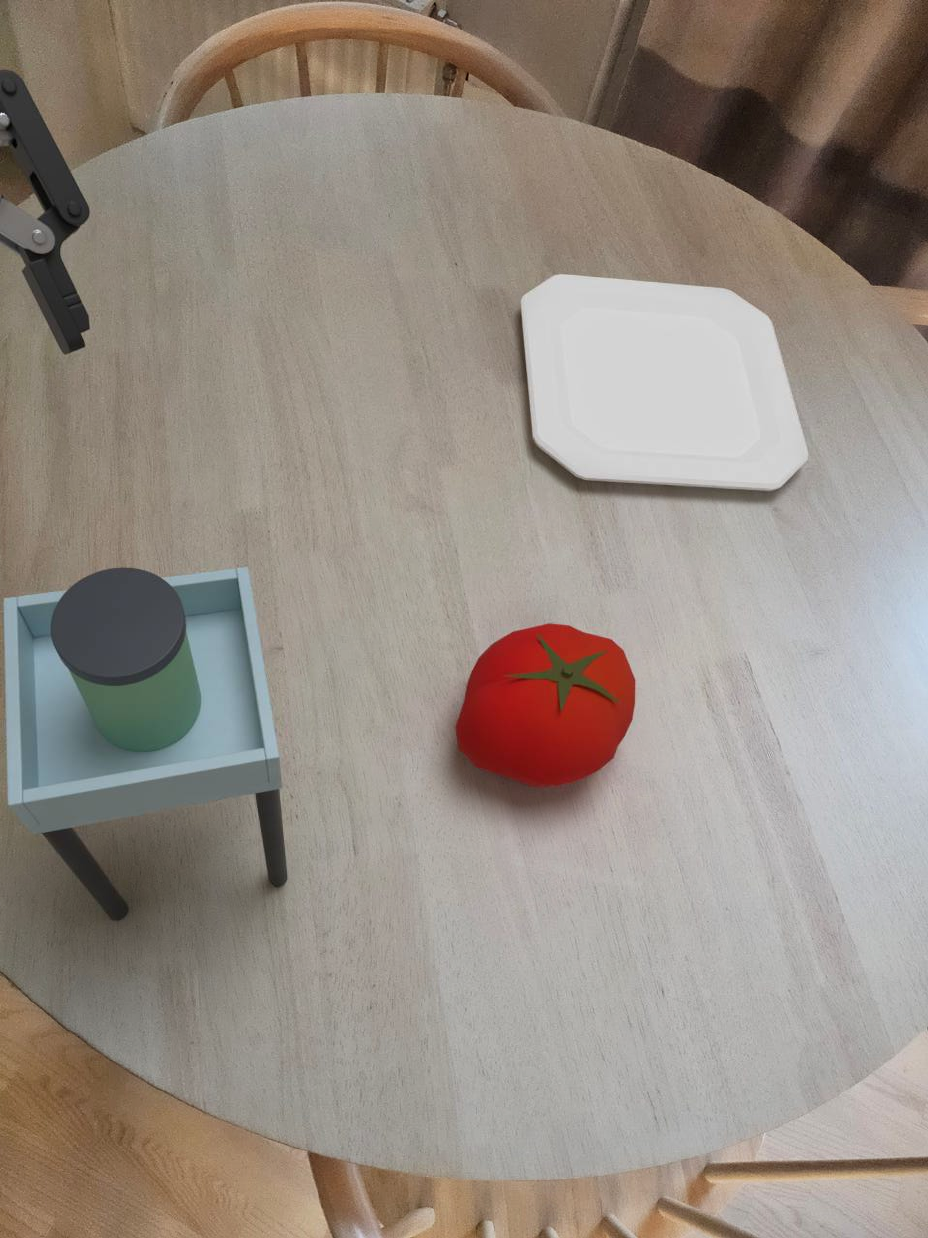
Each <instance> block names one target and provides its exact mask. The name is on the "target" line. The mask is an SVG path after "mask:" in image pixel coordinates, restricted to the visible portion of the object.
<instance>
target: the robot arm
mask: <svg viewBox="0 0 928 1238" xmlns="http://www.w3.org/2000/svg"><path fill="white" fill-rule="evenodd" d="M0 147H8V148H9V149H10V151H11V153H12V154H13V157H14V158H15V160H16V162H17V164H18V166H19V168H20V169H21V171H22V173H23V175H24V177H25V179H26V180H27V183H28V184H29V186H30V188H31V190H32V191H33V193H34V195H35V197H36V199H37V201H38V202H39V204H40V206H41V208H42V210H43V213H42V214H41V215H39V216H38V217H37V218H36V217H35V216H33V215H31V214H30V213H28V212H26V211H25V210H23V209H22V208H20V207H19V206H17V205H16V204H14V203H13V202H11V201H10V200H8V199H7V198H6V197H5V196H4V194H2V193H1V192H0V245H1V246H2V247H3V248H5V249H6V250H9V251H10V252H11V253H13V254H14V255H16V256H18V257H19V258H21V259H22V262H23V264H24V267H23V268H22V270H21V273H22V275H23V277H24V279H25V281H26V283H27V285H28V287H29V289H30V292H31V294H32V296H33V297H34V299H35V301H36V304H37V305H38V307H39V310H40V312H41V313H42V315H43V318H44V319H45V322H46V323H47V326H48V328H49V330H50V332H51V333H52V336H53V337H54V339H55V342H56V344H57V345H58V347H59V349H60V351H61V352H62V354H63V355H68V354H71V353H73V352H76V351H79V350H82V349H84V348H86V343H85V339H84V336H83V335H82V334H83V333H85V332H87V331H89V330H90V329H91V327H90V326H91V325H90V316H89V314H88V311H87V309H86V307H85V305H84V303H83V301H82V299H81V297H80V294H79V293H78V290H77V288H76V286H75V283H74V281H73V280H72V278H71V276H70V274H69V272H68V270H67V267H66V265H65V263H64V261H63V259H62V256H61V255H62V254H61V248H62V245H63V243H64V242H65V241H66V240H68V239H69V238H70V237H71V236H73V235H74V234H76V233H77V232H78V231H79V229H80V228H81V227H82V226H83V225H84V224H85V223H86V222H87V221H88V220H89V218H90V213H91V210H90V207H89V206H90V205H89V204H88V202H87V200H86V198H85V197H84V195H83V192H82V191H81V189H80V187H79V185H78V183H77V181H76V179H75V178H74V175H73V173H72V171H71V169H70V168H69V166H68V164H67V162H66V160H65V158H64V156H63V155H62V152H61V150H60V148H59V147H58V145H57V143H56V140H55V139H54V137H53V135H52V133H51V132H50V129H49V128H48V126H47V124H46V122H45V120H44V118H43V116H42V114H41V112H40V110H39V109H38V106H37V104H36V103H35V101H34V99H33V97H32V95H31V92H30V91H29V89H28V87H27V85H26V84H25V81H24V80H23V79H22V77H21V76H20V75H19V74H17V72H15V71H12V70H10V69H0Z"/></svg>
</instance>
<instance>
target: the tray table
mask: <svg viewBox="0 0 928 1238" xmlns="http://www.w3.org/2000/svg"><path fill="white" fill-rule="evenodd" d="M161 578H162V579H164V580H165V581H166V582H168V583H169V584H170V585H171V586H172V587H173V589H174V590H175V591H176V592H177V594H178V596H179V598H180V600H181V602H182V605H183V609H184V613H185V618H186V632H187V636H188V641H189V645H190V649H191V653H192V657H193V662H194V666H195V670H196V674H197V679H198V683H199V687H200V692H201V708H200V712H199V715H198V717H197V719H196V721H195V723H194V725H193V726H192V727H191V729H190V730H189V731H188V732H187V733H186V734H185V735H184V736H183V737H182V738H180V739H179V740H178V741H176V742H175V743H173V744H171V745H169V746H167V747H164V748H161V749H158V750H154V751H147V752H136V751H129V750H125V749H122V748H120V747H117V746H115V745H114V744H112V743H110V742H109V741H108V740H106V739H105V738H104V737H103V735H102V734H101V733H100V732H99V730H98V729H97V727H96V725H95V722H94V720H93V718H92V716H91V714H90V712H89V710H88V708H87V706H86V704H85V702H84V700H83V698H82V696H81V694H80V692H79V690H78V688H77V686H76V684H75V682H74V680H73V678H72V676H71V673H70V671H69V669H68V668H67V667H66V666H65V665H64V663H63V662H62V661H61V659H60V657H59V655H58V653H57V651H56V649H55V647H54V645H53V642H52V638H51V631H50V628H51V619H52V615H53V612H54V609H55V607H56V605H57V603H58V601H59V600H60V599H61V597H62V596H63V595H64V593H65V592H66V591H67V590H68V589H65V590H56V591H50V592H41V593H33V594H25V595H18V596H11V597H4V598H3V600H2V602H3V603H2V604H3V605H2V607H3V608H2V609H3V648H4V650H3V653H4V654H3V655H4V693H5V694H4V695H5V697H4V701H5V702H4V703H5V704H4V705H5V745H6V747H5V748H6V794H7V806H8V808H10V810H11V811H12V812H13V814H14V815H15V816H16V817H17V818H18V819H19V821H20V822H21V823H22V824H23V826H24V827H25V828H26V830H28V832H29V833H30V834H31V835H39V834H42V836H43V837H44V839H46V840H47V842H48V843H49V845H50V846H51V847H52V848H53V849H54V851H55V852H56V853H57V854H58V855H59V857H60V858H61V860H62V861H63V862H64V863H65V864H66V865H67V867H68V868H69V870H71V872H72V873H73V874H74V875H75V877H76V878H77V880H79V882H80V883H81V884H82V886H83V887H84V888H85V889H86V890H87V891H88V893H89V894H90V895H91V896H92V898H93V899H94V900H95V901H96V903H97V904H98V905H99V906H100V908H101V909H102V910H103V911H104V912H105V914H106V915H107V916H108V918H109V919H110V920H112V921H115V922H117V921H121V920H123V919H124V918H126V916H127V915H128V913H129V907H128V904H127V903H126V901H125V900H124V899H123V897H122V896H121V894H120V893H119V891H118V890H117V888H116V887H115V885H114V884H113V883H112V881H111V880H110V878H109V876H107V874H106V873H105V871H104V870H103V868H101V866H100V864H99V862H97V860H96V859H95V857H94V856H93V854H92V853H91V851H90V850H89V849H88V847H87V846H86V844H85V843H84V842H83V840H82V839H81V837H80V836H79V834H78V833H77V832H76V830H75V829H74V828H75V827H83V826H87V825H93V824H98V823H103V822H108V821H109V822H110V821H115V820H119V819H124V818H130V817H136V816H140V815H147V814H150V813H151V814H152V813H157V812H162V811H168V810H173V809H178V808H185V807H189V806H195V805H199V804H205V803H211V802H217V801H222V800H228V799H232V798H233V799H234V798H238V797H243V796H249V795H254V796H255V802H256V809H257V815H258V821H259V828H260V835H261V840H262V847H263V853H264V859H265V866H266V872H267V877H268V878H267V879H268V882H269V884H270V885H271V886H272V887H276V888H279V887H282V886H284V885H285V884H286V883H287V881H288V878H289V877H288V867H287V857H286V845H285V835H284V833H285V832H284V824H283V823H284V822H283V812H282V803H281V791H280V790H281V789H283V779H282V767H281V757H280V749H279V744H278V738H277V731H276V727H275V726H276V725H275V719H274V714H273V708H272V707H273V706H272V701H271V694H270V689H269V683H268V679H267V671H266V666H265V658H264V653H263V647H262V641H261V636H260V629H259V623H258V617H257V610H256V605H255V599H254V592H253V587H252V586H253V585H252V581H251V575H250V569H249V567H248V566H242V567H236V568H234V567H233V568H227V569H226V568H225V569H219V570H213V571H212V570H211V571H204V572H203V571H202V572H195V573H188V574H187V573H186V574H182V575H172V576H165V577H161Z"/></svg>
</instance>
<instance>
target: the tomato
mask: <svg viewBox="0 0 928 1238" xmlns="http://www.w3.org/2000/svg"><path fill="white" fill-rule="evenodd" d="M636 681H637V680H636V678H635V675H634V673H633V671H632V667H631V665H630V663H629V660H628V657H627V655H626V653H625V650H624V649H623V648H622V647H621V646H620V645H618V643H616V642H615V641H614V640H613V639H612V638H609V637H604V636H601V635H596V634H593V633H589V632H585V631H582V630H580V629H578V628H576V627H573V626H571V625H570V624H563V623H561V624H560V623H553V622H549V623H544V624H540V625H535V626H532V627H527V628H522V629H518V630H514V631H511V632H510V633H508V634H507V635H504V636H502V637H501V638H500V639H498V640H496V641H495V642H493V643H492V644H490V645H489V646H488V647H487V649H486V650H484V652H483V653H481V655H480V656H479V657H478V658H477V660H476V662H475V664H474V666H473V667H472V670H471V672H470V674H469V677H468V680H467V682H466V688H465V693H464V698H463V699H464V700H463V703H462V706H461V709H460V712H459V715H458V718H457V721H456V724H455V733H456V740H457V748H458V750H459V751H460V752H461V753H462V754H463V755H464V756H465V757H466V758H467V759H468V761H470V763H471V764H472V765H473V766H474V767H475V768H477V769H480V770H483V771H486V772H488V773H491V774H495V775H498V776H501V777H503V778H507V779H510V780H512V781H516V782H518V783H521V784H524V785H527V786H532V787H534V788H541V787H542V788H543V787H560V786H565V785H569V784H573V783H575V782H577V781H579V780H582V779H584V778H587V777H589V776H591V775H593V774H596V773H597V772H599V771H600V770H601V769H602V768H603V767H605V766H606V765H607V764H608V763H610V762H611V761H612V760H613V759H614V758H615V755H616V751H617V749H618V747H619V745H620V744H621V742H622V741H623V739H624V738H625V736H626V734H627V732H628V730H629V728H630V726H631V724H632V721H633V719H634V712H635V706H636Z"/></svg>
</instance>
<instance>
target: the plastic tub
mask: <svg viewBox="0 0 928 1238" xmlns="http://www.w3.org/2000/svg"><path fill="white" fill-rule="evenodd" d="M162 578H163V577H161V576H160V575H157V574H156V573H153V572H150V571H147V570H144V569H141V568H136V567H135V568H134V567H111V568H107V569H101V570H98V571H96V572H94V573H91V574H88V575H87V576H85V577H83V578H80V580H78V581H77V582H75V583H73V584H72V585H71V586H70V587H69V588H68V589H66V590H67V591H66V592H65V593H64V595H63V596H62V597H61V599H60V600H59V601H58V603H57V605H56V607H55V609H54V612H53V615H52V619H51V628H50V631H51V638H52V642H53V645H54V647H55V649H56V651H57V653H58V655H59V657H60V659H61V661H62V662H63V663H64V665H65V666H66V667H67V668H68V669H69V671H70V673H71V676H72V678H73V680H74V682H75V684H76V686H77V688H78V690H79V692H80V694H81V696H82V698H83V700H84V702H85V704H86V706H87V708H88V710H89V712H90V714H91V716H92V718H93V720H94V722H95V725H96V727H97V729H98V730H99V732H100V733H101V734H102V735H103V737H104V738H105V739H106V740H108V741H109V742H110V743H112V744H114V745H115V746H117V747H120V748H122V749H125V750H129V751H136V752H147V751H154V750H158V749H161V748H164V747H167V746H169V745H171V744H173V743H175V742H176V741H178V740H179V739H180V738H182V737H183V736H184V735H185V734H186V733H187V732H188V731H189V730H190V729H191V727H192V726H193V725H194V723H195V721H196V719H197V717H198V715H199V712H200V708H201V692H200V687H199V683H198V679H197V674H196V670H195V666H194V662H193V657H192V653H191V649H190V645H189V641H188V636H187V632H186V618H185V613H184V609H183V605H182V602H181V600H180V598H179V596H178V594H177V592H176V591H175V590H174V589H173V587H172V586H171V585H170V584H169V583H168V582H166V581H165V580H164V579H162Z"/></svg>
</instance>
